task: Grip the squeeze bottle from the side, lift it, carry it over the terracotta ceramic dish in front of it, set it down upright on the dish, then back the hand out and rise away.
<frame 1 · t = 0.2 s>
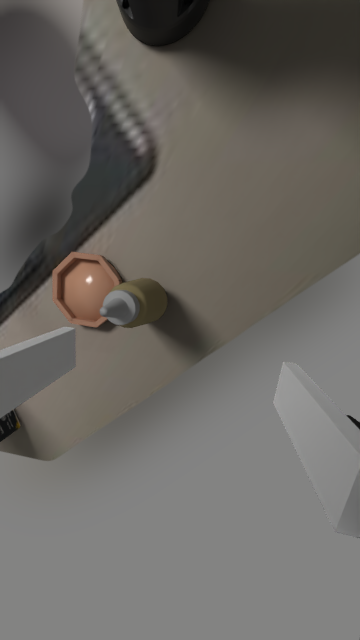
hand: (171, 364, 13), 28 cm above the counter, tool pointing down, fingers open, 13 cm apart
squeeze bottle: (152, 299, 41), on the counter
medicine bottle: (6, 415, 53), on the counter
dish: (91, 290, 43), on the counter
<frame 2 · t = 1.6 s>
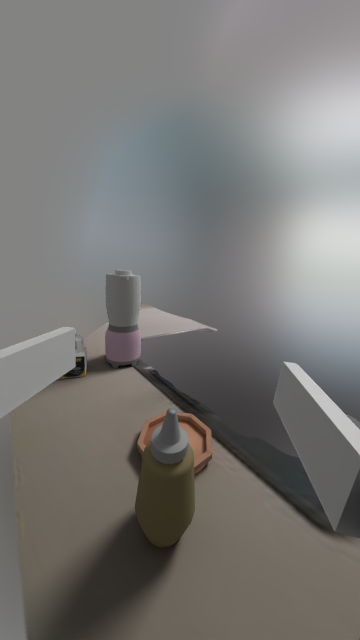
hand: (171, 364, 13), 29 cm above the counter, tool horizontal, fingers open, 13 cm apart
squeeze bottle: (163, 522, 29), on the counter
medicine bottle: (74, 372, 66), on the counter
blender: (122, 359, 78), on the counter
dish: (175, 445, 42), on the counter
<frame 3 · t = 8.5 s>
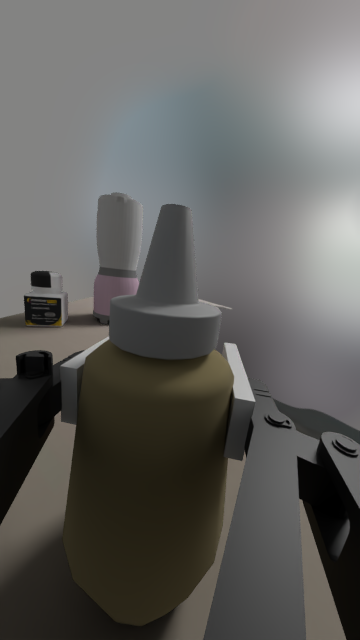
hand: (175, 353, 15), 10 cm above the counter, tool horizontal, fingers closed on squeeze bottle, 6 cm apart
squeeze bottle: (142, 547, 12), on the counter, touching gripper
medicine bottle: (48, 323, 50), on the counter
blender: (115, 318, 61), on the counter
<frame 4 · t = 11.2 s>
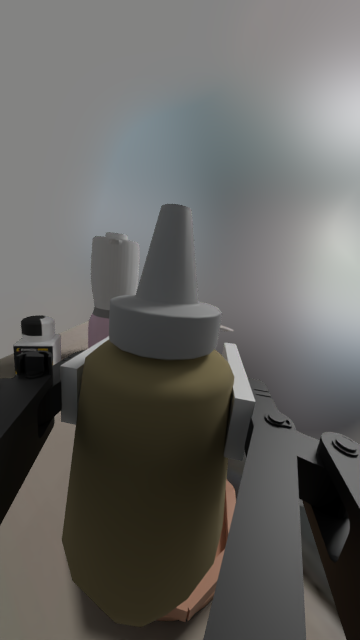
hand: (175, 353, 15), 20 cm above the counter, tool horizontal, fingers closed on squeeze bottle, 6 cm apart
squeeze bottle: (142, 548, 12), point 10 cm above the counter, touching gripper
medicine bottle: (40, 368, 48), on the counter
blender: (111, 355, 59), on the counter
dish: (167, 514, 22), on the counter
when the fingers open (12 cm above the counter, at t = 14.2 s): squeeze bottle drops 1 cm, resting on dish.
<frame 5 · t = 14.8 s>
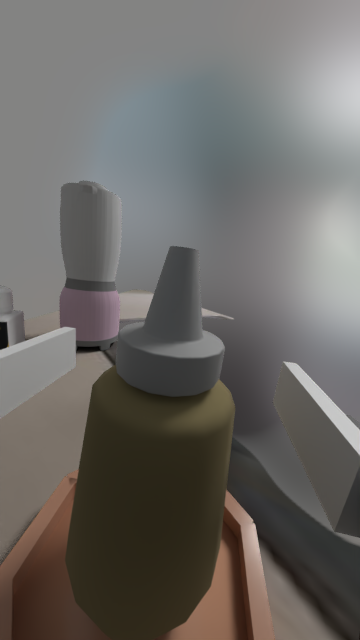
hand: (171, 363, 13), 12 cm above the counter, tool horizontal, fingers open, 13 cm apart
squeeze bottle: (140, 564, 13), point 1 cm above the counter, touching dish
blender: (91, 340, 49), on the counter
dish: (139, 574, 13), on the counter
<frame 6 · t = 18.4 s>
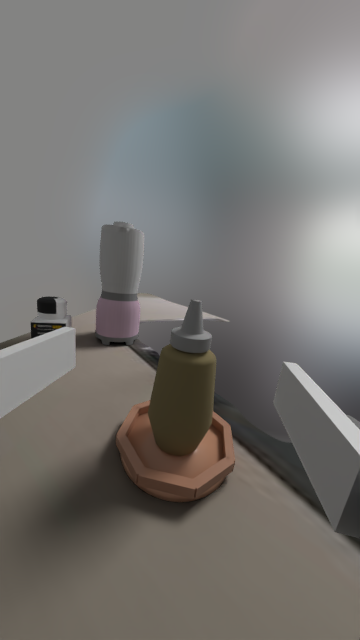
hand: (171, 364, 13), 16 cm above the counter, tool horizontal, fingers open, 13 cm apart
squeeze bottle: (176, 439, 27), point 1 cm above the counter, touching dish
medicine bottle: (53, 345, 52), on the counter
blender: (117, 337, 64), on the counter
dish: (175, 444, 27), on the counter
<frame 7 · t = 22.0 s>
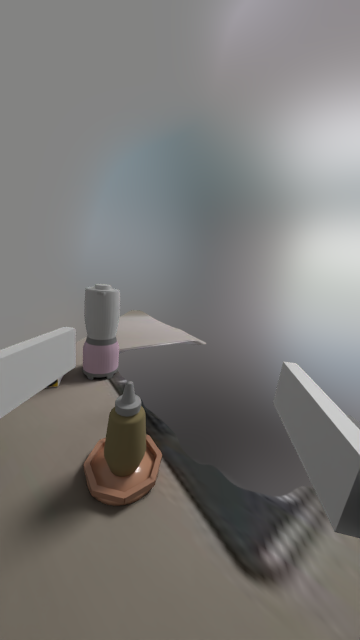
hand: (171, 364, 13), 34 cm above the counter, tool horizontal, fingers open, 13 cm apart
squeeze bottle: (124, 464, 42), point 1 cm above the counter, touching dish
medicine bottle: (48, 382, 67), on the counter
blender: (101, 370, 79), on the counter
dish: (124, 467, 42), on the counter
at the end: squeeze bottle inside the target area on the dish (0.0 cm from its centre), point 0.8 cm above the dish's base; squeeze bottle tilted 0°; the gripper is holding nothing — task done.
